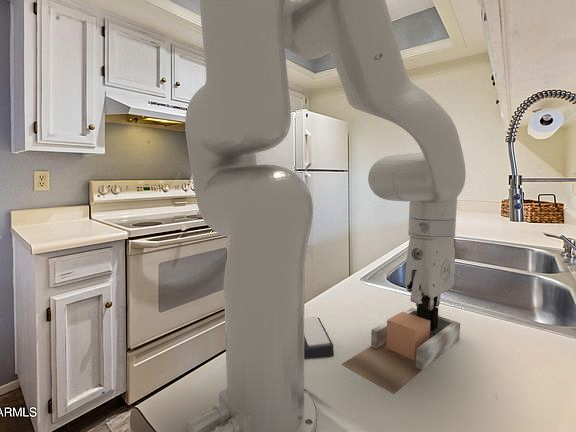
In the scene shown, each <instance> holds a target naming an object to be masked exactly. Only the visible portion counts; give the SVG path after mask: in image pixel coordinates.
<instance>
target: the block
mask: <svg viewBox="0 0 576 432" xmlns="http://www.w3.org/2000/svg"><path fill="white" fill-rule="evenodd" d="M386 322H387V340H386V348H388V349H390V350H392V351H394V352H397V353H399V354H401V355H403V356H406V357H408V358H410V359H412V360H416V352H417V348H418V347H419V346H421V345H422V344H423V343H425V342H426V341H428V340H429V339H430V338H431V336H430V335H431V334H430V333H431V331H430V321H429V320H426V319H423V318H420V317H417V316H414V315H411V314H408V313H405V311H401V312H399V313H397V314H395V315H394V316H391V317H389V318H388V319H386Z"/></svg>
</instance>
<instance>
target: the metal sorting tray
mask: <svg viewBox="0 0 576 432" xmlns="http://www.w3.org/2000/svg"><path fill="white" fill-rule="evenodd" d="M404 312H405V313H408V314H411V315H414V316H417V308H415V307H411V308H408V309H407V310H405V311H404ZM370 330H371V333H370V334H371V337H370V346H369V347H367V348H366V349H364V350H363V351H361V352H359V353H358V354H356V355H354V356H352V357H351V358H349V359H347V360H346V361H344V362H342V363H341V364H340V365H342V366H343V367H344V368H347V369H348V370H350V371H352V372H354V373H355V374H357V375H359V376H361V377H362V378H364V379H366V380H368V381H369V382H371V383H373V384H375V385H376V386H378V387H381V388H382V389H384V390H385V391H388V392H390V393H391V394H392V395H394V394H396V393H398V391H399V390H400V389H402V388H403V387H404V386H405V385H406V384H407V383H409V382H410V381H412V379H414V378H415V377H416V376H417V375H419V374H420V373H421V372H422V371H424V369H425V368H427V367H429V365H430V364H431V363H432V362H434V361H435V360H436V359H438V358H439V357H440V356H441V355H442V354H444V352H446V351H447V350H448V349H449V348H450V347H452V346H453V345H454V344H455V343H457V342H458V341H459V340H460V336H461V335H460V334H461V333H460V332H461V323H460V322H458V321H455V320H453V319H449V318H447V317H442V316H440V315H438V326H437V329H435V330H434V331H430V333H434V334H435V335H433V336H432V337H430V339H429V340H428V341H426V342H425V343H423V344H422V345H421V346H419V347H418V348H417V352H416V360H412V359H410V358H408V357H406V356H403V355H401V354H399V353H397V352H394V351H392V350H390V349H388V348H386V340H387V321H384V322H383V323H381V324H379V325H377V326H376V327H373V328H372V329H370Z"/></svg>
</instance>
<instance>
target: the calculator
mask: <svg viewBox="0 0 576 432" xmlns="http://www.w3.org/2000/svg"><path fill="white" fill-rule="evenodd" d="M334 352H335V351H334V343H333V342H332V340H331V338H330V337H329V334H328V333H327V331H326V328H325V326H324V324H323V323H322V321H321V319H320V318H319V317H318V316H310V317H304V360H306V359H316V358H329V357H330V358H331V357H334V355H335V353H334Z"/></svg>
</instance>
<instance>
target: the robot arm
mask: <svg viewBox="0 0 576 432" xmlns="http://www.w3.org/2000/svg"><path fill="white" fill-rule="evenodd" d="M199 11H200V12H199V13H200V23H201V32H202V33H201V34H202V43H203V54H204V55H203V56H204V62H205V63H204V65H205V84H203V85H202V86H201V87H200V88H199V89H198V90H197V91H196V92H195V93H194V94H193V96H192V97H191V99H190V101H189V103H188V105H187V108H186V113H185V120H184V121H185V128H184V129H185V137H186V138H185V139H186V145H187V152H188V158H189V164H190V171H191V175H192V183H193V189H194V195H195V199H196V204H197V208H198V212H199V214H200V216H201V217H202V219H203V221H204V223H205V224H206V225H207V226H208V227H209V228H210V229H211V230H212V231H214V232H216V233H217V234H219V235H222V236H225V237H227V238H229V244H228V252H227V256H226V262H225V267H224V275H223V276H224V277H223V303H224V304H223V305H224V329H225V330H224V332H225V361H226V362H225V365H226V388H225V389H223V390H222V391H219V392H218V401H219V402H218V403H216V404H214V405H213V406H212V410H211V411H208V412H207V413H205V414H204V413H203V414H201V415H199V416H197V417H196V418H193V419H191V420H189V421H188V422H187V431H188V432H316V428H317V424H318V423H317V421H318V418H317V417H318V413H317V408H316V404H315V402H314V401H313V399H312V397H311V396H310V395H309V393H307V392H306V391H305V359H304V318H305V276H306V275H305V274H306V273H305V271H306V258H307V251H308V244H309V239H310V234H311V229H312V225H313V218H314V204H313V198H312V194H311V192H310V189H309V186H307V184H306V183H305V181H304V180H303V179H302V178H301V177H300V176H299V174H297V173H296V172H294V171H292V170H291V169H288V168H287V167H283V166H280V165H275V164H258V163H257V156H256V153H262V152H266V151H268V150H271V149H273V148H275V147H277V146H278V145H280V144H281V143H282V142H283V141H284V140H285V138H286V137H287V135H288V134H289V132H290V129H291V128H290V127H291V122H292V121H291V120H292V109H291V108H292V107H291V98H290V96H291V95H290V87H289V76H288V67H287V58H286V56H287V55H286V50H287V51H288V52H290V53H293V54H294V55H296V56H299V57H301V58H303V59H306V60H307V59H308V60H316V59H319V58H321V57H323V56H325V55H327V54H330V56H331V59H332V61H333V65H334V67H335V69H336V72H337V74H338V78H339V80H340V83H341V86H342V88H343V92H344V94H345V97H346V100H347V102H348V104H349V105H350V106H351V107H352V108H353V109H355V110H357V111H361V112H363V113H367V114H369V115H372V116H375V117H377V118H380V119H383V120H386V121H389V122H390V123H392V124H393V123H394V125H397V126H399V127H400V128H401V129H403V130H404V131H406V132H407V133H408V134H409V135H410V136H411V137H412V138H413V140H414V141H415V142H416V143H417V145H418V146H419V149H420V150H421V152H414V153H413V152H410V153H404V154H393V155H388V156H385V157H382V158H379V159H378V160H376V162H374V163H373V165H372V166H371V167H370V170H369V172H368V176H367V177H368V178H367V179H368V180H367V181H368V185H369V188H370V191H372V193H373V194H375V196H377V197H379V198H380V199H383V200H385V201H395V202H397V201H398V202H409V205H408V206H409V207H408V208H409V211H408V230H407V231H408V233H407V235H408V237H409V242H408V246H407V254H406V263H405V280H404V281H405V282H404V284H405V289H406V291H407V292H409V293H410V299H409V300H410V302H412V303H415V306H416V309H417V317H420V318H423V319H426V320H429V321H430V332H431V331H434V330H435V329H437V326H438V316H439V306H440V304H441V297H442V296H441V295H442V294H443V293H445V292H447V291H449V290H451V289H452V288H453V287H454V286H455V280H456V253H455V252H456V249H455V240H454V239H455V238H456V224H457V207H458V206H457V205H458V204H457V203H458V197H459V196H460V194H461V193H462V191H463V189H464V187H465V183H466V176H467V175H466V163H465V158H464V152H463V147H462V145H461V144H462V143H461V139H460V136H459V133H458V130H457V127H456V124H455V122H454V120H453V119H452V117H451V116H450V115H449V114H448V112H447V111H446V110H445V109H444V108H443V107H442V106H441V104H439V103H438V101H436V100H435V98H433V97H432V96H431V95H430V94H428V92H426V91H425V90H423V89H422V88H421V87H419V86H418V85H416V84H415V83H414V82H412V80H411V79H410V78H409V76H408V74H407V71H406V69H405V68H406V67H405V65H404V60H403V56H402V55H401V50H400V47H399V43H398V39H397V37H396V33H395V29H394V26H393V21H392V18H391V15H390V12H389V9H388V5H387V1H386V0H199ZM285 49H286V50H285ZM421 295H422V296H421ZM213 429H214V430H213ZM212 430H213V431H212Z"/></svg>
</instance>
